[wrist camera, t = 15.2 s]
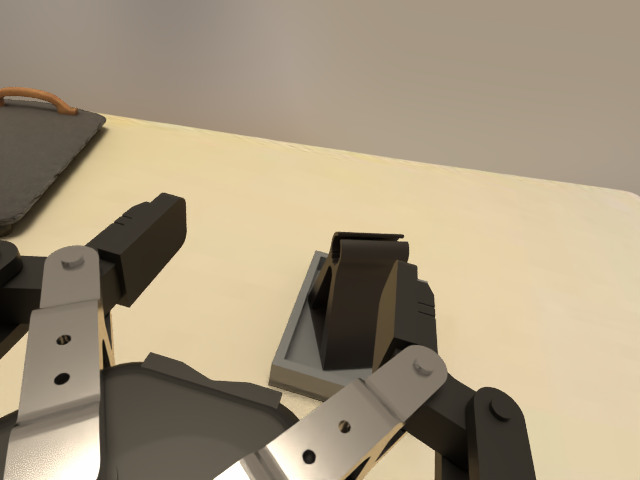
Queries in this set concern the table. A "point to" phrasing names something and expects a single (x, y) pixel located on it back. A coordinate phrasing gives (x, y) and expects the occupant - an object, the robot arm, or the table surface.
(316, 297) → the phone stand
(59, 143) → the serving board
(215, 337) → the table surface
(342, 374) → the tray
